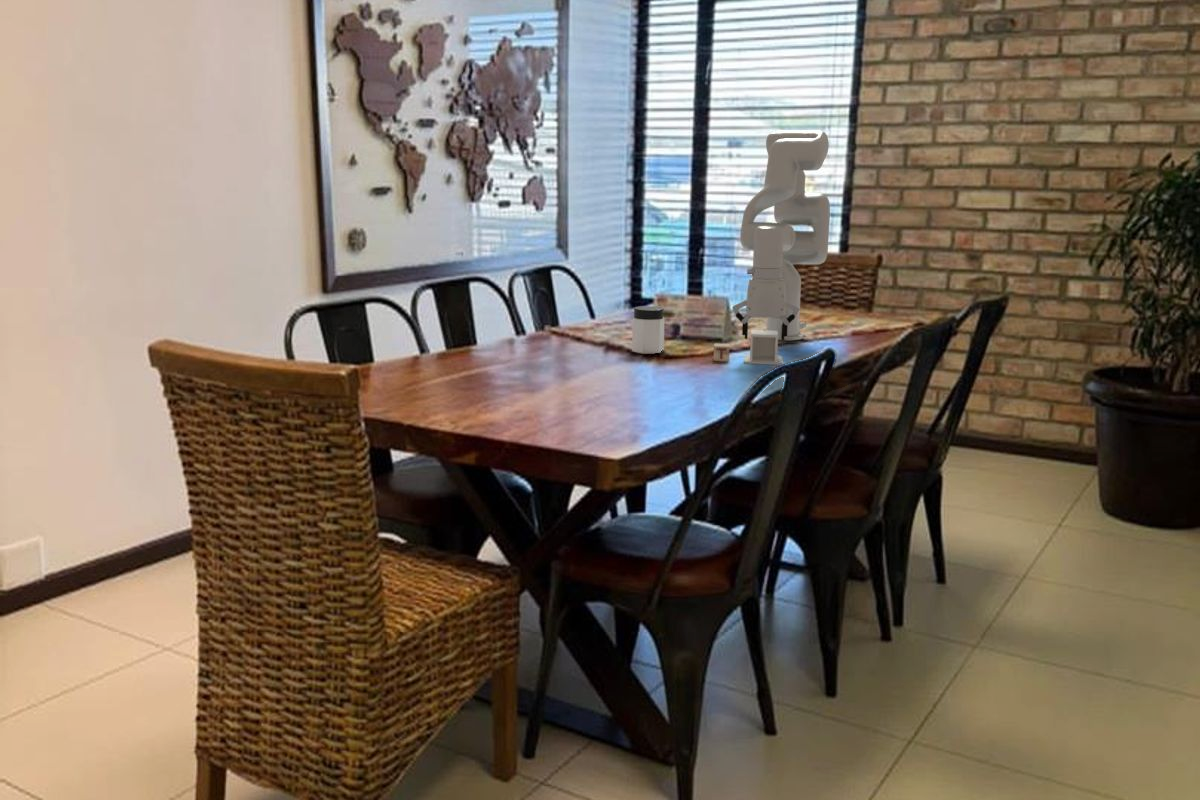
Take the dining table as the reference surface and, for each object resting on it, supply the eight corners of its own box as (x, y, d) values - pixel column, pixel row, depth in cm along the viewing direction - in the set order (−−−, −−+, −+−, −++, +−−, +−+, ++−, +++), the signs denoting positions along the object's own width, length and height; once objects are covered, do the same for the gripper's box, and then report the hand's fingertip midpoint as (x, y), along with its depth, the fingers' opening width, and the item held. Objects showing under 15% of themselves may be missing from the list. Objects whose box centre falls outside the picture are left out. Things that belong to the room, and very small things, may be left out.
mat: (744, 356, 278) (744, 354, 278) (781, 357, 276) (781, 355, 276) (743, 363, 268) (743, 361, 268) (782, 364, 267) (782, 363, 267)
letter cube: (713, 358, 275) (714, 343, 275) (728, 358, 275) (729, 343, 274) (713, 361, 271) (714, 346, 271) (728, 361, 271) (729, 346, 270)
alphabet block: (749, 355, 276) (751, 330, 274) (776, 356, 275) (777, 330, 273) (749, 360, 269) (751, 334, 268) (776, 361, 268) (778, 335, 267)
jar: (670, 352, 283) (671, 308, 280) (647, 355, 278) (648, 311, 275) (648, 347, 290) (649, 305, 287) (626, 350, 285) (627, 307, 282)
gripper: (733, 275, 265) (731, 340, 269) (801, 276, 262) (798, 342, 267) (734, 271, 272) (731, 334, 276) (800, 272, 269) (797, 336, 274)
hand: (764, 338), depth 271 cm, fingers open, 9 cm apart
